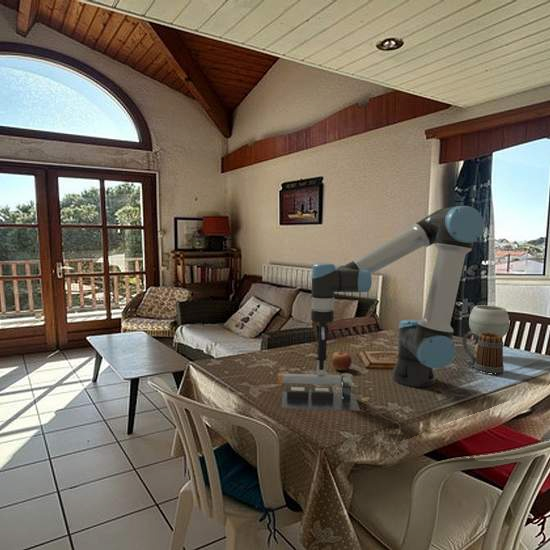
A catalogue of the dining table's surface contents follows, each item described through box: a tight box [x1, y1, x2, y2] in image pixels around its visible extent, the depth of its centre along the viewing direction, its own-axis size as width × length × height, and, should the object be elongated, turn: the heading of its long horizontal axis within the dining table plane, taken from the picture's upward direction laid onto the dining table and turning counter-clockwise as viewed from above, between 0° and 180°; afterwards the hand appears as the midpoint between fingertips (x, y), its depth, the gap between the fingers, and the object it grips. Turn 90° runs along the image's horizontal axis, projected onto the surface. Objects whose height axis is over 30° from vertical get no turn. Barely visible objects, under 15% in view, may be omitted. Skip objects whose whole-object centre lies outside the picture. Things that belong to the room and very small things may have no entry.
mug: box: [462, 331, 505, 375], centre depth 161 cm, size 16×11×15 cm
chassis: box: [281, 385, 361, 412], centre depth 127 cm, size 24×13×5 cm, turn 87°
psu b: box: [286, 385, 309, 400], centre depth 130 cm, size 7×5×2 cm
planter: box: [468, 304, 510, 352], centre depth 179 cm, size 16×16×22 cm
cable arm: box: [277, 372, 353, 387], centre depth 130 cm, size 24×4×3 cm, turn 87°
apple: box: [331, 349, 352, 371], centre depth 160 cm, size 8×8×8 cm
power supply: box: [310, 386, 334, 400], centre depth 130 cm, size 7×5×2 cm
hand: (320, 377), depth 134 cm, fingers closed
